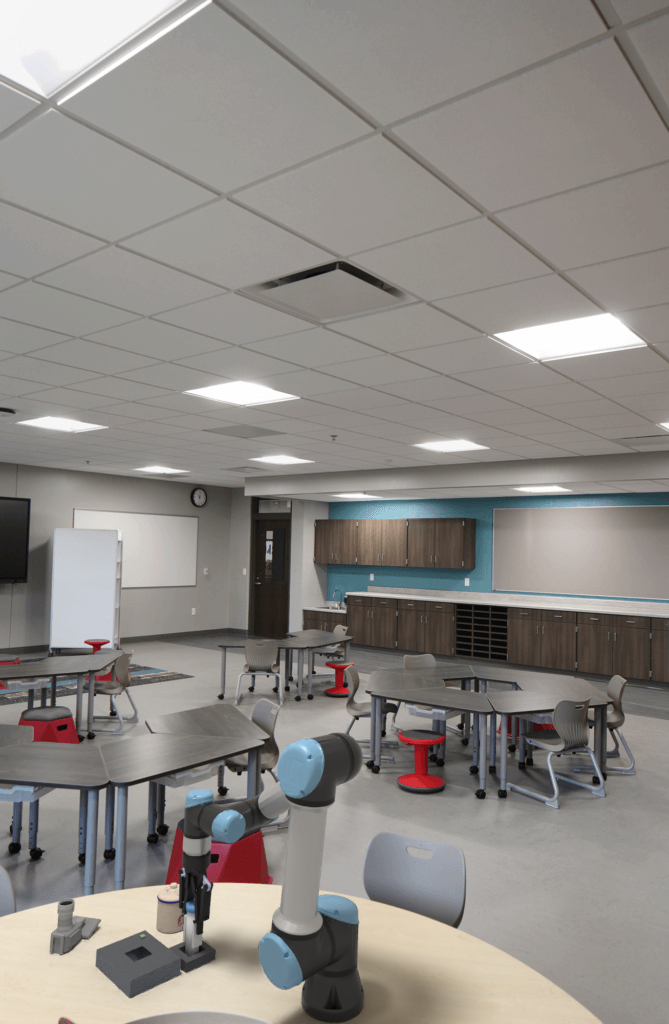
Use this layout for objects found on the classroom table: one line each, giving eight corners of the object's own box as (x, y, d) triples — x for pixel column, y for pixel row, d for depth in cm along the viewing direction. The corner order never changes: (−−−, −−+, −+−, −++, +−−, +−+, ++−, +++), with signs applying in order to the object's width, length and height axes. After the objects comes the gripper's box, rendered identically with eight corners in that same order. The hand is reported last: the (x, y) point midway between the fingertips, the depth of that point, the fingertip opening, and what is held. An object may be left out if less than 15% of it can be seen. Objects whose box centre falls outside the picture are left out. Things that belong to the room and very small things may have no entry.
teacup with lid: (183, 934, 184) (185, 891, 186) (151, 933, 184) (154, 890, 186) (192, 913, 196) (194, 872, 198) (162, 912, 196) (164, 871, 198)
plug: (202, 959, 173) (205, 903, 174) (189, 965, 170) (192, 908, 171) (193, 952, 176) (196, 897, 177) (180, 958, 173) (183, 902, 174)
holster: (215, 959, 173) (215, 949, 173) (186, 973, 167) (186, 962, 167) (196, 945, 179) (196, 935, 179) (167, 958, 173) (168, 948, 173)
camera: (44, 905, 175) (76, 882, 190) (40, 952, 174) (73, 925, 188) (74, 909, 174) (103, 885, 188) (70, 957, 172) (100, 928, 187)
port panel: (180, 974, 166) (181, 956, 166) (129, 998, 156) (130, 979, 156) (144, 945, 178) (145, 929, 179) (95, 965, 169) (96, 948, 169)
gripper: (226, 856, 173) (222, 950, 170) (191, 837, 184) (187, 925, 182) (202, 864, 167) (197, 961, 165) (168, 844, 179) (163, 935, 176)
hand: (192, 942), depth 173 cm, fingers closed on plug, 3 cm apart
